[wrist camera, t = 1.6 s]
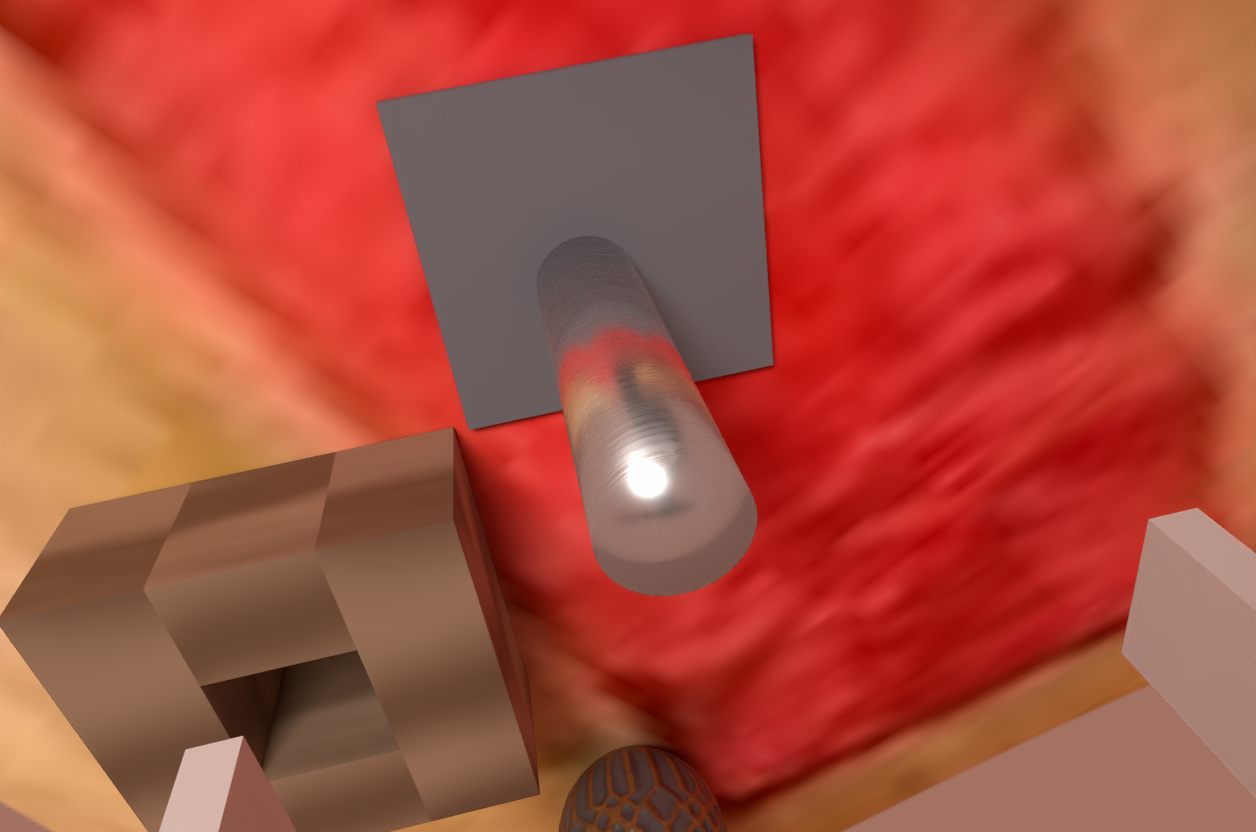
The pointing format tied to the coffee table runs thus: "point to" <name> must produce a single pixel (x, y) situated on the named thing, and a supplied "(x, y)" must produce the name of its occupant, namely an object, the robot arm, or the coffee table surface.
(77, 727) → the block
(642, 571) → the peg
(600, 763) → the vase
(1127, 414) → the coffee table surface
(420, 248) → the mat
